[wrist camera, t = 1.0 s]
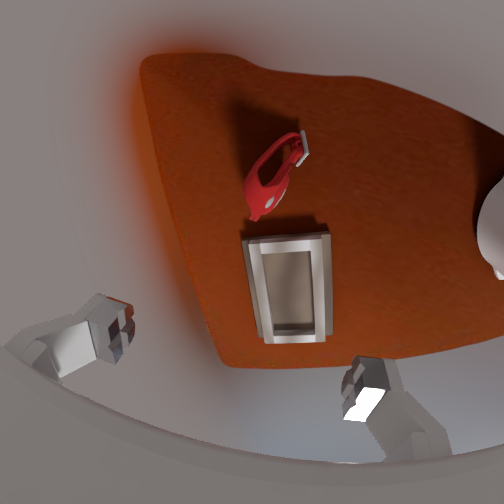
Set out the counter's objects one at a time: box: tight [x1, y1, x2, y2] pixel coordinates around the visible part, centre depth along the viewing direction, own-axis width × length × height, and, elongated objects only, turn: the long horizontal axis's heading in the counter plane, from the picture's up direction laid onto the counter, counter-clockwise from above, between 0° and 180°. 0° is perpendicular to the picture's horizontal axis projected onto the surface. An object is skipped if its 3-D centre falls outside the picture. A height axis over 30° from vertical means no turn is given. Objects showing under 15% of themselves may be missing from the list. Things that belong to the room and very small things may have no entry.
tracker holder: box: [243, 131, 309, 222], centre depth 32 cm, size 12×4×10 cm, turn 149°
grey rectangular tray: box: [242, 231, 333, 343], centre depth 42 cm, size 12×17×3 cm
